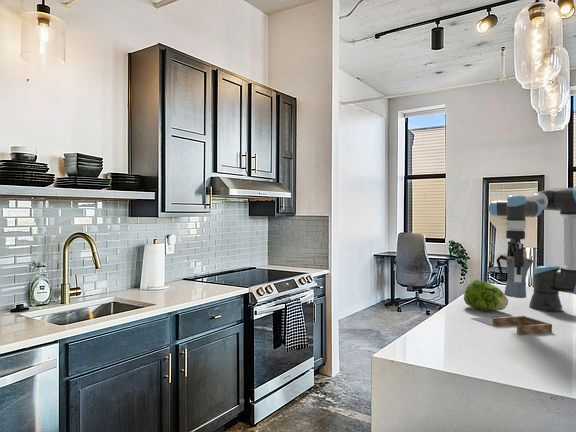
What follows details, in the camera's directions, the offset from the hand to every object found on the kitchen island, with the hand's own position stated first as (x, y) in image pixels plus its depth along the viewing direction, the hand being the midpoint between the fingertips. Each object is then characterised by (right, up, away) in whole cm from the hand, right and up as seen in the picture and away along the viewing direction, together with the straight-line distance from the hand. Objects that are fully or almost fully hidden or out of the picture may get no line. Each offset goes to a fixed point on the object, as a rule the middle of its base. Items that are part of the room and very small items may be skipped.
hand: (514, 280), depth 192 cm
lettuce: (+2, -21, +32) cm, 38 cm away
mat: (-4, -21, +10) cm, 23 cm away
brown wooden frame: (+1, -21, -3) cm, 21 cm away
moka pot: (0, -7, 0) cm, 8 cm away
